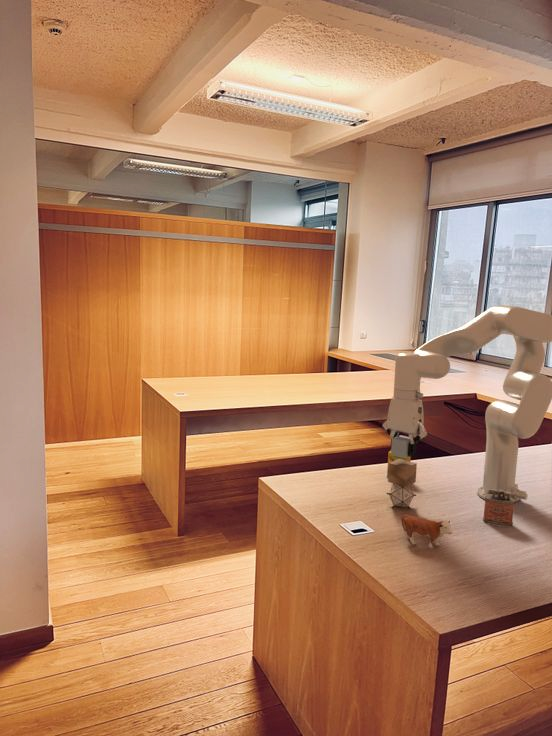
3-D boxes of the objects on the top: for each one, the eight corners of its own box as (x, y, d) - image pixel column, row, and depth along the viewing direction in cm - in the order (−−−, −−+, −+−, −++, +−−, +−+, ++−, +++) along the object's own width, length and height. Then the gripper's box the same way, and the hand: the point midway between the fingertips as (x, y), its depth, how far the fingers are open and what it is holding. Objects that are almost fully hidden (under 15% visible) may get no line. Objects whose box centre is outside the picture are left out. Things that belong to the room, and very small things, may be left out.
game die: (403, 516, 171) (420, 489, 173) (407, 517, 163) (425, 489, 164) (378, 499, 173) (395, 472, 174) (381, 500, 165) (399, 472, 166)
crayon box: (386, 478, 193) (388, 446, 191) (389, 476, 196) (391, 444, 194) (406, 482, 189) (408, 450, 187) (409, 480, 192) (411, 448, 190)
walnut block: (415, 482, 168) (416, 463, 167) (405, 487, 164) (406, 467, 163) (398, 477, 172) (399, 458, 171) (387, 481, 168) (388, 462, 167)
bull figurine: (449, 555, 140) (451, 525, 138) (398, 541, 147) (400, 512, 145) (454, 548, 143) (456, 519, 142) (404, 535, 150) (405, 507, 149)
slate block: (414, 454, 167) (415, 438, 166) (405, 458, 163) (406, 441, 162) (399, 450, 170) (400, 435, 169) (391, 454, 166) (391, 438, 166)
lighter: (512, 522, 159) (515, 490, 157) (513, 527, 156) (516, 494, 154) (482, 518, 162) (485, 486, 160) (482, 523, 158) (485, 490, 157)
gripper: (438, 397, 161) (434, 457, 163) (388, 388, 172) (385, 444, 175) (426, 401, 155) (421, 462, 158) (375, 391, 167) (372, 449, 170)
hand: (402, 452), depth 166 cm, fingers closed on slate block, 4 cm apart
